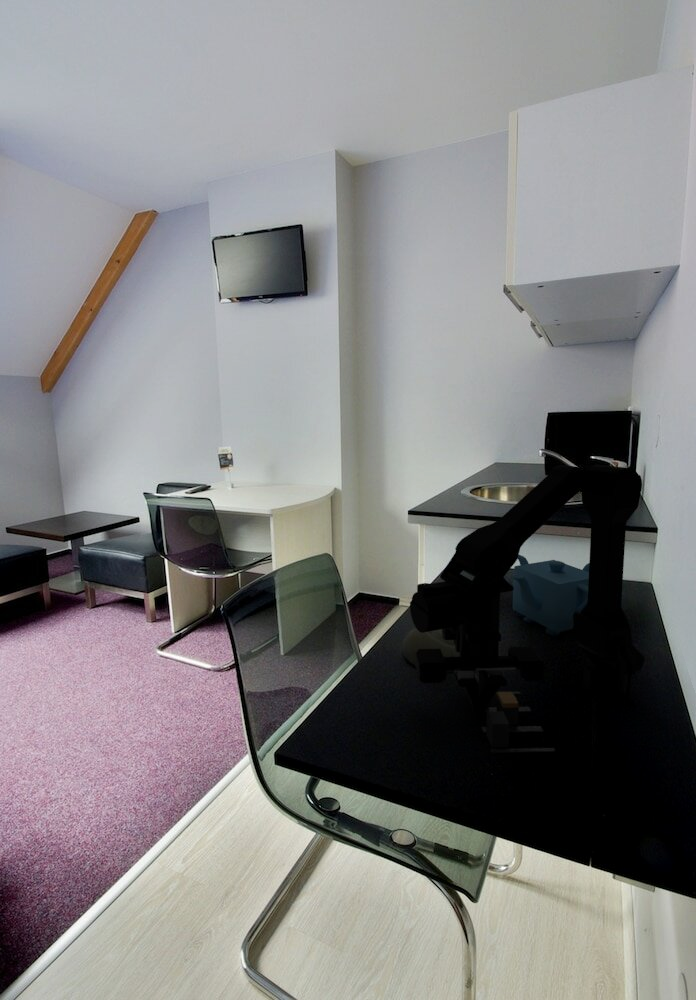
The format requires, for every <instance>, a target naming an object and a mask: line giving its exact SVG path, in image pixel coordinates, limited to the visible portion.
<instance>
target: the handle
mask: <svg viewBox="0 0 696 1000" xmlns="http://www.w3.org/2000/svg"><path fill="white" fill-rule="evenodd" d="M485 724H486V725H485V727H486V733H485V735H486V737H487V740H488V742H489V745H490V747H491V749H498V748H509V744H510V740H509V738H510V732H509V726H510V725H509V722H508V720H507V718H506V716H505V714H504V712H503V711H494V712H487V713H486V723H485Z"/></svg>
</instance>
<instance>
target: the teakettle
mask: <svg viewBox="0 0 696 1000" xmlns="http://www.w3.org/2000/svg"><path fill="white" fill-rule="evenodd" d="M517 560H518V562H519V565H515V566H514V569H513V575H512V576H511V579H513V585H512V586H513V587H514V590H513V591H512V593H513V594H512V610H514V611H515V612H517V613H519V614H520V615H522V616H525V617H524V618H523V621H524V622H526V623H529V624H532V623H533V624H534V623H538V624H539V625H541V626H543V627H545V628H546V629H545V634H547V635H550V636H559V635H560V634H561V633H563V632H565V631H570V630H573V614H574V613H575V612H581V610H582V609H583V608H584V607H585V606H586V604H587V602H588V584H589V562H588V563H587V564H585V565H584V566H583V568H582V569H581V568H579V567H575V566H572V565H570V564H567V563H565V562H563V561H560V560H555V559H551V560H544V561H539V562H538V561H537V562H531V563H529V562H528V559H527V558H526V557H525V556H523V555H521V554H519V555H518V558H517Z"/></svg>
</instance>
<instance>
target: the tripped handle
mask: <svg viewBox="0 0 696 1000" xmlns="http://www.w3.org/2000/svg"><path fill="white" fill-rule="evenodd" d="M513 692H514V691H497V695H496V707H497V711H503V712H504V714H505V716H506V718H507V720H508V722H509V726H519V712H518V710H519V707H520V705H519V704H520V703H519V701H518V699H517V698H516V696H515V694H513Z"/></svg>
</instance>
